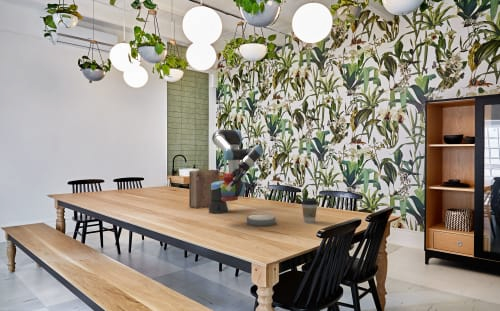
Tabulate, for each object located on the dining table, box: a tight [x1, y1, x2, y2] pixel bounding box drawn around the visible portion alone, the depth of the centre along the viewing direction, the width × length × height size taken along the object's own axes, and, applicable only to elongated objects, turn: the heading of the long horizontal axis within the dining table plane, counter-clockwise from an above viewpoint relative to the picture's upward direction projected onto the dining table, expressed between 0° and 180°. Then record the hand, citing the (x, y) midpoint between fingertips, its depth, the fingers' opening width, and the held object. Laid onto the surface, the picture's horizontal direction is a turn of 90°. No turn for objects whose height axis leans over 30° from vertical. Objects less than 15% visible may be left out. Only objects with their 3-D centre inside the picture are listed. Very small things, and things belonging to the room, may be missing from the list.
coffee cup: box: [300, 198, 319, 224], centre depth 235 cm, size 11×11×15 cm
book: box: [188, 169, 220, 209], centre depth 295 cm, size 25×9×30 cm, turn 138°
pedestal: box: [246, 214, 276, 227], centre depth 230 cm, size 19×19×4 cm
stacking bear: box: [221, 172, 239, 202], centre depth 230 cm, size 11×10×18 cm
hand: (224, 189), depth 228 cm, fingers closed on stacking bear, 9 cm apart
